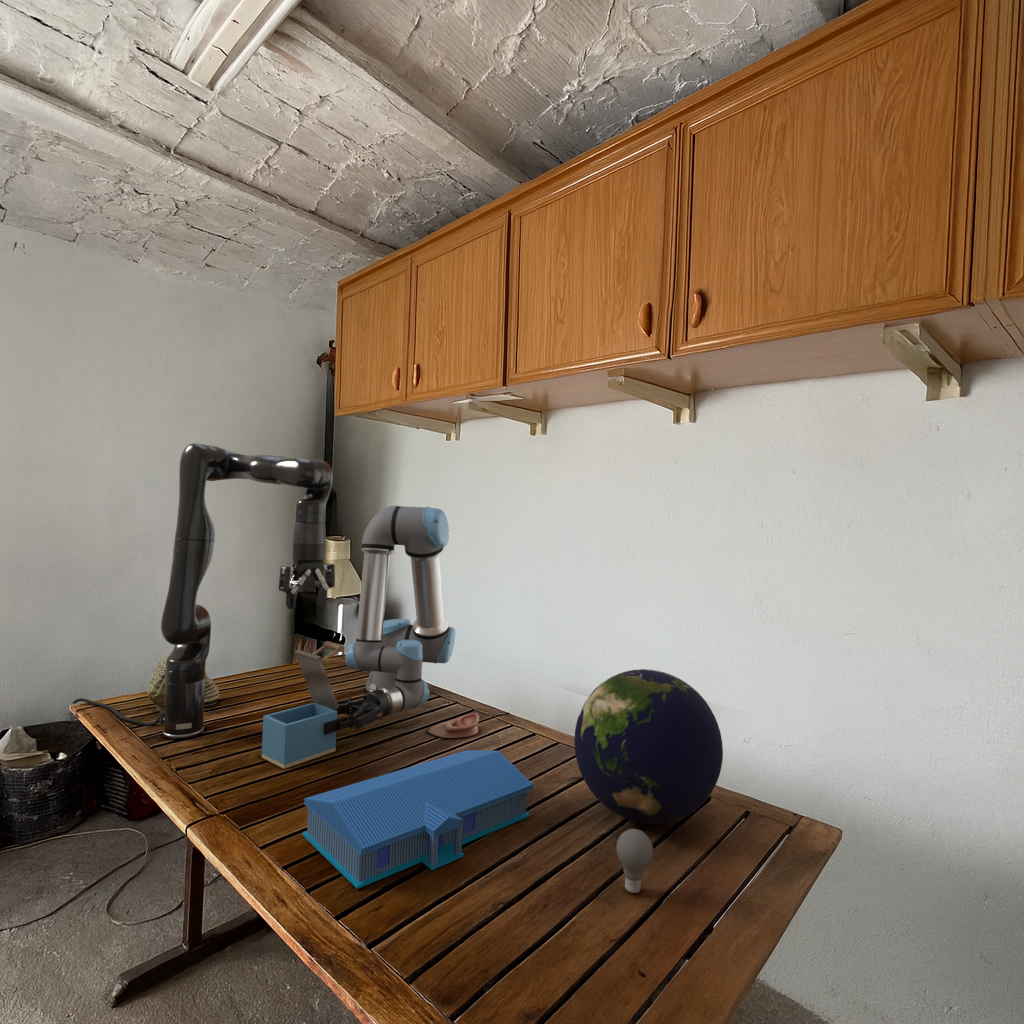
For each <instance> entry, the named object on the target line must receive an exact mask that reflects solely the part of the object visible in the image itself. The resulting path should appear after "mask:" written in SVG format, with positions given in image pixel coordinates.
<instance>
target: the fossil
mask: <svg viewBox="0 0 1024 1024" xmlns="http://www.w3.org/2000/svg"><path fill="white" fill-rule="evenodd" d="M169 655H170V654H165V655H164V656H163V657H162V658H161V659H160V660H159V662H158V663H157V666H156V667H155V669H154V670H153V672H152V675H151V677H150V680H149V684H148V688H147V697H148V699H149V700H150V701H152V703H153V704H154V706H155V711H158V712H159V711H162V710H164V705H165V674H166V659H167V657H168V656H169ZM220 698H221V696H220V690H219V688H218V686H217V685H216V683H215V682H214V681H213V679H212V678H211V677H209V675H208V674H207V672H206V671H205V693H204V707H207V706H213V705H215V704H217V703H218V701H219V699H220Z"/></svg>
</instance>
